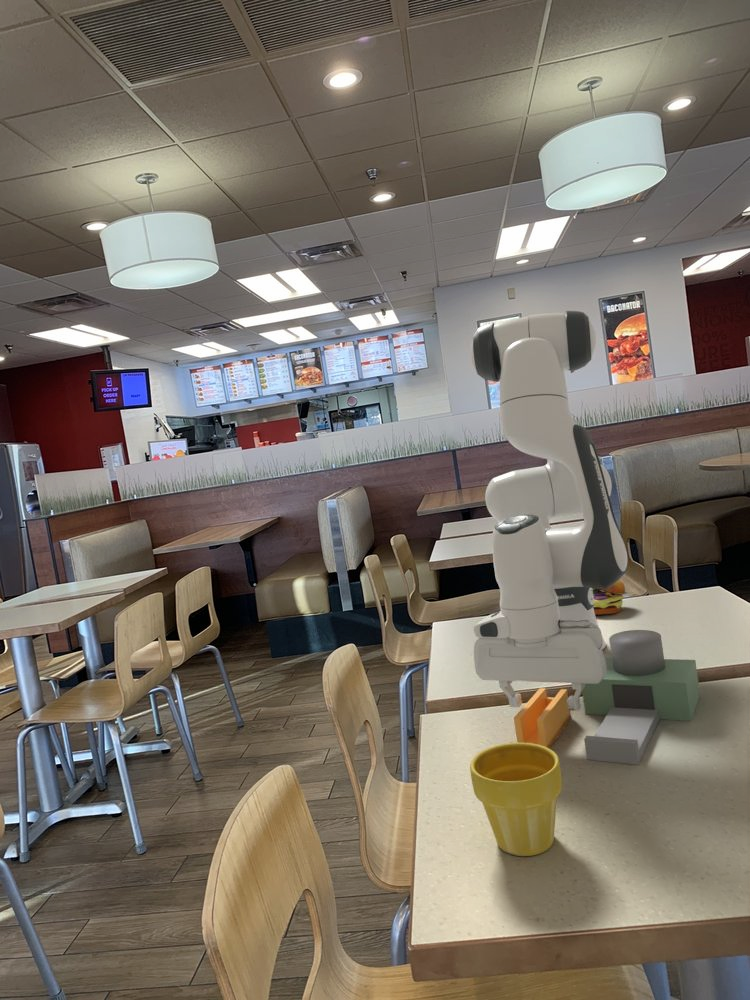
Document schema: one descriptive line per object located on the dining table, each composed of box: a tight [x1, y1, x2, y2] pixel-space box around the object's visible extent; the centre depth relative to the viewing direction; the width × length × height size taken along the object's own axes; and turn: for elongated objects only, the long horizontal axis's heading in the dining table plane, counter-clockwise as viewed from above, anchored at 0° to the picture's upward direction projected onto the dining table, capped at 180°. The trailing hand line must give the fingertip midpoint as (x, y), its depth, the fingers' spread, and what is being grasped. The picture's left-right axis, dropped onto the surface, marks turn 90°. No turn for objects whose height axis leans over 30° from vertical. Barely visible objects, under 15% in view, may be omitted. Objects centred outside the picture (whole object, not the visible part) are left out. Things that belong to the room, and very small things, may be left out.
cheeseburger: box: [592, 579, 627, 616], centre depth 170 cm, size 10×11×10 cm
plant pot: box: [469, 742, 563, 857], centre depth 82 cm, size 10×10×10 cm
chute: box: [513, 687, 572, 749], centre depth 109 cm, size 5×12×5 cm, turn 147°
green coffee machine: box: [581, 629, 701, 766], centre depth 107 cm, size 16×25×11 cm, turn 147°
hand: (544, 707), depth 108 cm, fingers open, 8 cm apart
